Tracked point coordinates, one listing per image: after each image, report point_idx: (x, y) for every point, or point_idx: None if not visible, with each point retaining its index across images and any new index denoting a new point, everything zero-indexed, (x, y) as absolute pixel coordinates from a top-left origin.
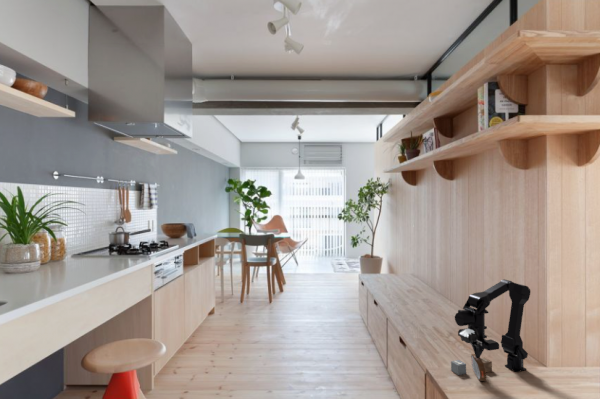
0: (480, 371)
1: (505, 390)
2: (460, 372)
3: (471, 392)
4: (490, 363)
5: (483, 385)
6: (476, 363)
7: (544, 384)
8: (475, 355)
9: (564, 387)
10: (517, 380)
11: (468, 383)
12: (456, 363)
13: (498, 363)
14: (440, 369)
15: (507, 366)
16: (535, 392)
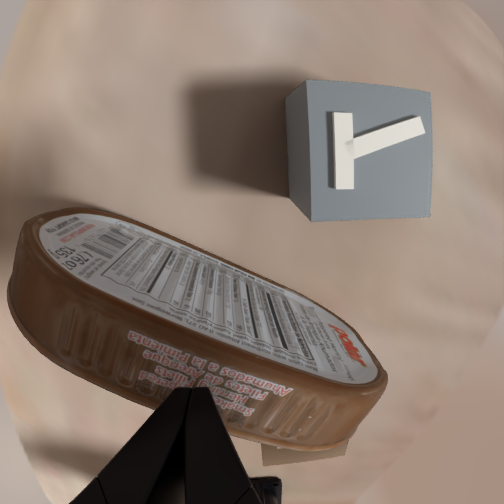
0: (23, 225)
1: (6, 301)
2: (289, 125)
3: (16, 49)
4: (261, 446)
5: (62, 201)
6: (139, 297)
7: (86, 476)
8: (292, 414)
9: (72, 493)
10: (117, 437)
11: (116, 92)
12: (363, 105)
13: (319, 469)
14: (417, 37)
15: (254, 484)
16: (13, 407)
